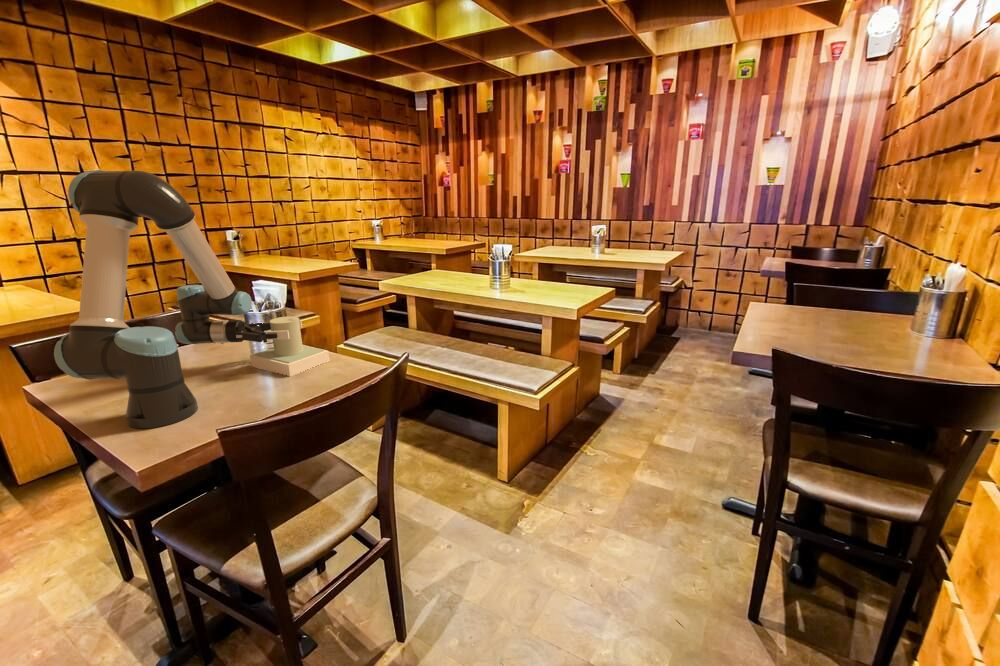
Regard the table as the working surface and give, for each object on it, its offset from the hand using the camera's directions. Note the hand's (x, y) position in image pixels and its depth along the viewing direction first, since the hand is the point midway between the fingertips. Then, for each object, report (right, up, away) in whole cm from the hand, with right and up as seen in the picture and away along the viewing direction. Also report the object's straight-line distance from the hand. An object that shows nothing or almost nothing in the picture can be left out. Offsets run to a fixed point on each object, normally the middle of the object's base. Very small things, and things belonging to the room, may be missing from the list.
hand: (295, 329), depth 153 cm
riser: (-3, -12, +3) cm, 13 cm away
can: (-3, -8, +2) cm, 9 cm away
